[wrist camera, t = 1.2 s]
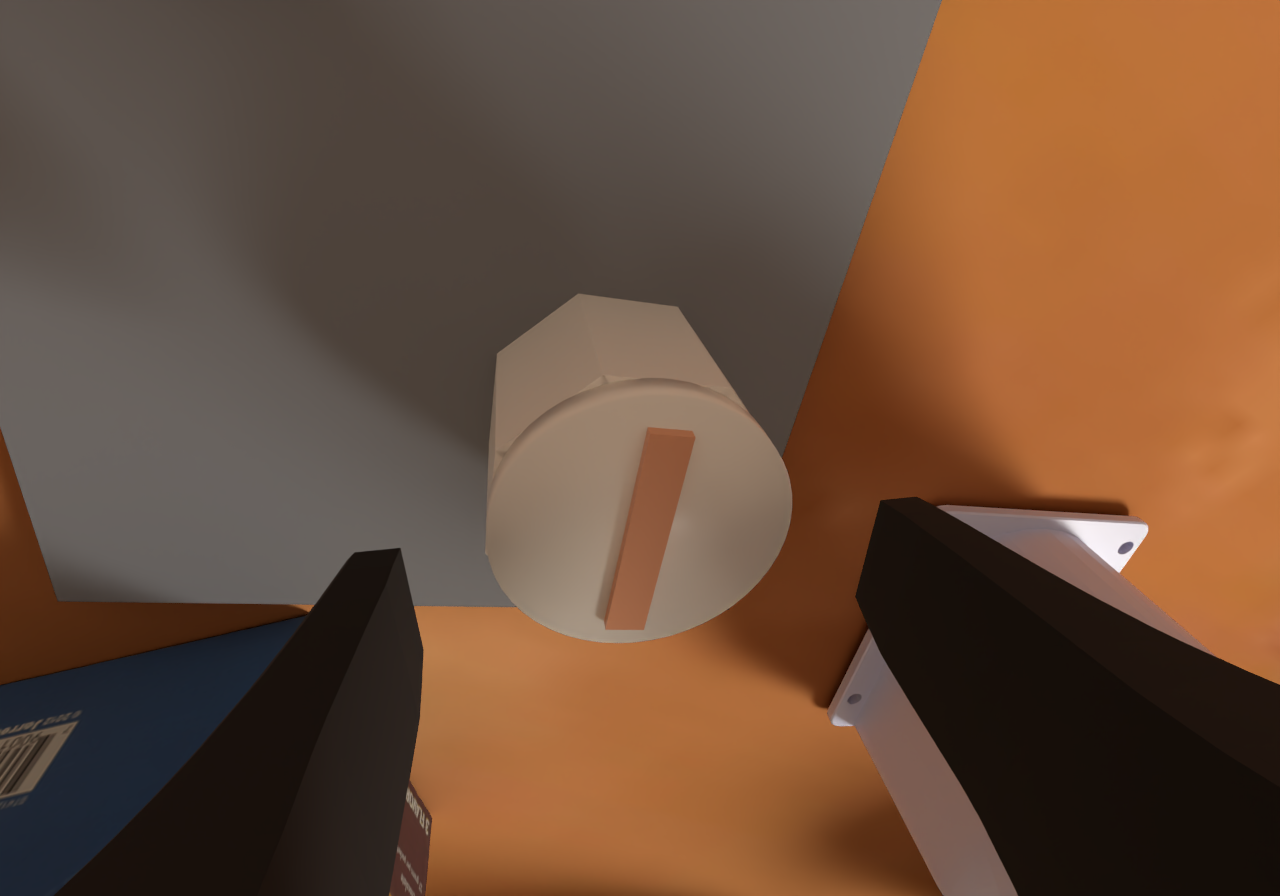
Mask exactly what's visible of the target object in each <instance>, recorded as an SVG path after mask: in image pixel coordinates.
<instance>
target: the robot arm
mask: <svg viewBox="0 0 1280 896" xmlns="http://www.w3.org/2000/svg"><path fill="white" fill-rule="evenodd" d="M1147 533H1148V525H1147V524H1146V523H1145V522H1144V521H1142V520H1141V519H1140V518H1138V517H1135V516H1122V515H1105V514H1089V513H1072V512H1056V511H1039V510H1023V509H1006V508H989V507H973V506H956V505H940V506H937V507H936V506H934V505H932V504H930V503H928V502H926V501H924V500H922V499H920V498H918V497H910V498H899V499H889V500H881V501H880V505H879V508H878V512H877V516H876V520H875V524H874V527H873V531H872V535H871V539H870V543H869V546H868V550H867V554H866V558H865V562H864V565H863V569H862V573H861V577H860V581H859V584H858V588H857V592H856V596H855V597H856V599H857V602H858V604H859V606H860V609H861V611H862V613H863V616H864V618H865V621H866V623H867V625H868V628H869V629H868V631H867V633H866V635H865V637H864V639H863V641H862V643H861V645H860V647H859V649H858V651H857V652H856V654H855V656H854V658H853V660H852V662H851V664H850V666H849V668H848V670H847V672H846V674H845V676H844V678H843V680H842V682H841V684H840V686H839V688H838V690H837V692H836V694H835V696H834V698H833V700H832V702H831V704H830V706H829V708H828V711H827V715H828V717H829V719H830V721H831V723H832V724H833V725H835V726H855V727H856V729H857V731H858V733H859V735H860V737H861V739H862V741H863V743H864V745H865V747H866V749H867V751H868V753H869V755H870V756H871V758H872V760H873V762H874V764H875V766H876V768H877V770H878V772H879V774H880V776H881V778H882V780H883V782H884V784H885V786H886V788H887V789H888V791H889V793H890V795H891V797H892V799H893V801H894V803H895V805H896V807H897V809H898V811H899V813H900V815H901V817H902V819H903V821H904V822H905V824H906V826H907V828H908V830H909V832H910V834H911V836H912V838H913V840H914V842H915V844H916V846H917V848H918V850H919V852H920V854H921V855H922V857H923V859H924V861H925V863H926V865H927V867H928V869H929V871H930V873H931V875H932V877H933V879H934V881H935V883H936V885H937V886H938V888H939V890H940V891H941V893H942V895H943V896H1280V685H1279V684H1276V683H1274V682H1272V681H1269V680H1267V679H1264V678H1262V677H1260V676H1257V675H1255V674H1253V673H1250V672H1248V671H1246V670H1243V669H1241V668H1239V667H1237V666H1235V665H1233V664H1230V663H1228V662H1226V661H1224V660H1222V659H1219V658H1217V657H1216V656H1215V655H1214V654H1212V653H1211V652H1210V651H1209V650H1208V649H1207V648H1205V647H1204V646H1203V645H1202V644H1201V643H1200V642H1199V641H1197V640H1196V639H1195V638H1194V637H1193V636H1192V635H1190V634H1189V633H1188V632H1187V631H1186V630H1185V629H1183V628H1182V627H1181V626H1180V625H1179V624H1178V623H1176V622H1175V621H1174V620H1173V619H1172V618H1171V617H1170V616H1168V615H1167V614H1166V613H1165V612H1164V611H1163V610H1161V609H1160V608H1159V607H1158V606H1157V605H1156V604H1154V603H1153V602H1152V601H1151V600H1150V599H1149V598H1147V597H1146V596H1145V595H1144V594H1143V593H1142V592H1140V591H1139V590H1138V589H1137V588H1136V587H1135V586H1134V585H1132V584H1131V583H1130V582H1129V581H1128V580H1127V579H1125V578H1124V577H1123V576H1122V575H1121V574H1120V573H1119V572H1120V571H1121V570H1122V568H1123V567H1124V566H1125V564H1126V563H1127V561H1128V560H1129V559H1130V557H1131V556H1132V554H1133V553H1134V552H1135V550H1136V549H1137V547H1138V546H1139V545H1140V543H1141V542H1142V541H1143V539H1144V538H1145V536H1146V534H1147ZM422 669H423V646H422V641H421V637H420V632H419V628H418V623H417V619H416V615H415V610H414V606H413V601H412V597H411V592H410V588H409V583H408V579H407V574H406V570H405V565H404V561H403V557H402V552H401V548H393V549H383V550H373V551H363V552H354V553H353V554H352V555H351V556H350V558H349V559H348V560H347V561H346V562H345V564H344V565H343V566H342V568H341V569H340V571H339V572H338V573H337V575H336V576H335V578H334V579H333V580H332V582H331V583H330V585H329V586H328V587H327V589H326V590H325V592H324V593H323V594H322V596H321V597H320V598H319V600H318V601H317V603H316V604H315V605H314V607H313V608H312V609H311V611H310V612H309V613H308V615H307V616H306V617H305V619H304V620H303V621H302V623H301V624H300V625H299V627H298V628H297V629H296V631H295V632H294V633H293V635H292V636H291V637H290V638H289V640H288V641H287V642H286V644H285V645H284V646H283V647H282V649H281V650H280V651H279V652H278V654H277V655H276V656H275V658H274V659H273V660H272V661H271V663H270V664H269V665H268V666H267V668H266V669H265V670H264V672H263V673H262V674H261V675H260V677H259V678H258V679H257V680H256V682H255V683H254V684H253V685H252V686H251V688H250V689H249V690H248V691H247V693H246V694H245V695H244V696H243V697H242V698H241V700H240V701H239V702H238V703H237V704H236V705H235V707H234V708H233V709H232V710H231V711H230V712H229V713H228V715H227V716H226V717H225V718H224V719H223V720H222V722H221V723H220V724H219V725H218V726H217V727H216V729H215V730H214V731H213V732H212V733H211V734H210V736H209V737H208V738H207V739H206V740H205V741H204V742H203V744H202V745H201V746H200V747H199V748H198V749H197V751H196V752H195V753H194V754H193V755H192V756H191V757H190V758H189V759H188V760H187V762H186V763H185V764H184V765H183V766H182V767H181V768H180V769H179V770H178V771H177V772H176V774H175V775H174V776H173V777H172V778H171V779H170V780H169V781H168V782H167V783H166V784H165V785H164V786H163V787H162V788H161V790H160V791H159V792H158V793H157V794H156V795H155V796H154V797H153V798H152V799H151V800H150V801H149V802H148V803H147V804H146V805H145V806H144V807H143V808H142V809H141V810H140V811H139V812H138V813H137V814H136V815H135V816H134V817H133V818H132V819H131V820H130V821H129V823H128V824H127V825H126V826H125V827H124V828H123V829H122V830H121V831H120V832H119V833H118V834H117V835H116V836H115V837H114V838H113V839H112V840H111V841H110V842H109V843H108V844H107V845H106V846H105V847H104V848H103V849H102V850H101V851H100V852H98V853H97V854H96V855H95V856H94V857H93V858H92V859H91V860H90V861H89V862H88V863H87V864H86V865H85V866H84V867H83V868H82V869H81V870H80V871H79V872H77V873H76V874H75V875H74V876H73V877H72V878H71V879H70V880H69V881H68V882H67V883H66V884H65V885H64V886H63V887H62V888H61V889H60V890H59V891H58V892H57V893H55V894H54V895H53V896H389V893H390V886H391V881H392V875H393V869H394V864H395V858H396V852H397V847H398V841H399V835H400V830H401V824H402V818H403V812H404V807H405V801H406V795H407V790H408V784H409V778H410V773H411V767H412V761H413V755H414V749H415V743H416V738H417V731H418V725H419V719H420V704H421V689H422Z"/></svg>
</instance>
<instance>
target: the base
mask: <svg viewBox="0 0 1280 896" xmlns="http://www.w3.org/2000/svg"><path fill="white" fill-rule="evenodd" d="M941 1H942V0H0V428H1V431H2V434H3V437H4V440H5V443H6V446H7V449H8V452H9V455H10V458H11V461H12V464H13V467H14V470H15V473H16V476H17V479H18V482H19V485H20V488H21V491H22V494H23V497H24V500H25V504H26V507H27V510H28V513H29V516H30V519H31V522H32V525H33V528H34V531H35V534H36V537H37V540H38V543H39V546H40V549H41V552H42V555H43V558H44V561H45V564H46V567H47V570H48V573H49V576H50V579H51V582H52V585H53V588H54V591H55V594H56V597H57V600H58V601H68V602H147V603H227V604H307V605H315V604H316V603H317V601H318V600H319V598H320V597H321V596H322V594H323V593H324V592H325V590H326V589H327V587H328V586H329V585H330V583H331V582H332V580H333V579H334V578H335V576H336V575H337V573H338V572H339V571H340V569H341V568H342V566H343V565H344V564H345V562H346V561H347V560H348V559H349V558H350V556H351V555H352V554H353V553H354V552H363V551H373V550H383V549H393V548H401V552H402V557H403V561H404V565H405V570H406V574H407V579H408V583H409V588H410V592H411V597H412V601H413V606H466V607H517V606H516V605H514V604H513V603H512V602H511V600H510V599H509V598H508V597H507V595H506V594H505V593H504V592H503V590H502V589H501V587H500V585H499V583H498V582H497V580H496V578H495V576H494V574H493V571H492V568H491V565H490V562H489V559H488V556H487V555H486V554H485V546H486V516H487V486H488V456H489V437H490V426H491V415H492V404H493V393H494V382H495V371H496V359H497V353H498V352H500V351H501V350H502V349H504V348H505V347H507V346H508V345H509V344H511V343H512V342H513V341H515V340H516V339H517V338H519V337H520V336H521V335H523V334H524V333H526V332H527V331H528V330H530V329H531V328H532V327H534V326H535V325H536V324H538V323H539V322H540V321H542V320H543V319H544V318H546V317H547V316H549V315H550V314H551V313H553V312H554V311H555V310H557V309H558V308H559V307H561V306H562V305H563V304H565V303H566V302H568V301H569V300H570V299H572V298H573V297H574V296H576V295H577V294H578V293H579V294H586V295H593V296H601V297H608V298H616V299H623V300H631V301H638V302H646V303H653V304H661V305H668V306H676V307H678V308H679V309H680V311H681V312H682V314H683V315H684V317H685V318H686V320H687V321H688V323H689V324H690V326H691V327H692V329H693V330H694V332H695V333H696V335H697V336H698V338H699V339H700V340H701V342H702V343H703V345H704V346H705V348H706V349H707V351H708V352H709V354H710V355H711V357H712V358H713V360H714V361H715V363H716V364H717V366H718V367H719V369H720V370H721V371H722V373H723V374H724V376H725V377H726V379H727V380H728V382H729V383H730V385H731V386H732V388H733V389H734V391H735V392H736V394H737V395H738V397H739V398H740V400H741V401H742V403H743V404H744V406H745V407H746V409H747V410H748V412H749V413H750V415H751V416H753V417H754V419H755V420H756V421H757V422H758V424H759V425H760V426H761V427H762V429H763V430H764V431H765V433H766V434H767V436H768V437H769V439H770V440H771V442H772V443H773V445H774V446H775V448H776V449H777V451H778V453H779V455H780V456H781V458H782V456H783V453H784V450H785V448H786V445H787V442H788V439H789V436H790V433H791V430H792V428H793V425H794V422H795V419H796V416H797V413H798V410H799V407H800V405H801V402H802V399H803V396H804V393H805V390H806V387H807V385H808V382H809V379H810V376H811V373H812V370H813V367H814V365H815V362H816V359H817V356H818V353H819V350H820V347H821V345H822V342H823V339H824V336H825V333H826V330H827V327H828V325H829V322H830V319H831V316H832V313H833V310H834V307H835V304H836V302H837V299H838V296H839V293H840V290H841V287H842V284H843V282H844V279H845V276H846V273H847V270H848V267H849V264H850V262H851V259H852V256H853V253H854V250H855V247H856V244H857V242H858V239H859V236H860V233H861V230H862V227H863V224H864V222H865V219H866V216H867V213H868V210H869V207H870V204H871V201H872V199H873V196H874V193H875V190H876V187H877V184H878V181H879V179H880V176H881V173H882V170H883V167H884V164H885V161H886V159H887V156H888V153H889V150H890V147H891V144H892V141H893V139H894V136H895V133H896V130H897V127H898V124H899V121H900V119H901V116H902V113H903V110H904V107H905V104H906V101H907V98H908V96H909V93H910V90H911V87H912V84H913V81H914V78H915V76H916V73H917V70H918V67H919V64H920V61H921V58H922V56H923V53H924V50H925V47H926V44H927V41H928V38H929V36H930V33H931V30H932V27H933V24H934V21H935V18H936V16H937V13H938V10H939V7H940V4H941ZM727 610H729V609H727Z"/></svg>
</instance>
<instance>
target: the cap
mask: <svg viewBox="0 0 1280 896" xmlns="http://www.w3.org/2000/svg"><path fill="white" fill-rule="evenodd" d="M791 514H792V490H791V484H790V478H789V475H788V470H787V469H786V467H785V464H784V462H783V460H782V458H781V456H780V455H779V453H778V451H777V449H776V448H775V446H774V445H773V443H772V442H771V440H770V439H769V437H768V436H767V434H766V433H765V431H764V430H763V429H762V427H761V426H760V425H759V424H758V422H757V421H756V420H755V419H754V417H753V416H751V415H750V413H749V412H748V410H747V409H746V407H745V406H744V404H743V403H742V401H741V400H740V398H739V397H738V395H737V394H736V392H735V391H734V389H733V388H732V386H731V385H730V383H729V382H728V380H727V379H726V377H725V376H724V374H723V373H722V371H721V370H720V369H719V367H718V366H717V364H716V363H715V361H714V360H713V358H712V357H711V355H710V354H709V352H708V351H707V349H706V348H705V346H704V345H703V343H702V342H701V340H700V339H699V338H698V336H697V335H696V333H695V332H694V330H693V329H692V327H691V326H690V324H689V323H688V321H687V320H686V318H685V317H684V315H683V314H682V312H681V311H680V309H679V308H678V307H676V306H668V305H661V304H653V303H646V302H638V301H631V300H623V299H616V298H608V297H601V296H593V295H586V294H579V293H578V294H577V295H576V296H574V297H573V298H572V299H570V300H569V301H568V302H566V303H565V304H563V305H562V306H561V307H559V308H558V309H557V310H555V311H554V312H553V313H551V314H550V315H549V316H547V317H546V318H544V319H543V320H542V321H540V322H539V323H538V324H536V325H535V326H534V327H532V328H531V329H530V330H528V331H527V332H526V333H524V334H523V335H521V336H520V337H519V338H517V339H516V340H515V341H513V342H512V343H511V344H509V345H508V346H507V347H505V348H504V349H502V350H501V351H500V352H498V353H497V359H496V371H495V382H494V393H493V404H492V415H491V426H490V437H489V456H488V486H487V516H486V546H485V554H486V555H487V556H488V559H489V562H490V565H491V568H492V571H493V574H494V576H495V578H496V580H497V582H498V583H499V585H500V587H501V589H502V590H503V592H504V593H505V594H506V595H507V597H508V598H509V599H510V600H511V602H512V603H513V604H514V605H516V606H517V607H518V608H519V609H520V610H521V611H522V612H523V613H524V614H526V615H527V616H529V617H530V618H531V619H533V620H534V621H536V622H537V623H539V624H541V625H543V626H545V627H547V628H549V629H551V630H553V631H556V632H559V633H561V634H564V635H566V636H570V637H574V638H578V639H582V640H588V641H595V642H604V643H631V642H641V641H648V640H655V639H659V638H663V637H667V636H671V635H674V634H677V633H680V632H684V631H687V630H689V629H691V628H694V627H696V626H698V625H701V624H703V623H705V622H707V621H709V620H711V619H712V618H714V617H716V616H718V615H720V614H721V613H723V612H724V611H726V610H727V609H729V608H730V607H732V606H733V605H735V604H736V603H737V602H738V601H739V600H741V599H742V598H743V597H744V596H745V595H747V594H748V593H749V592H750V591H751V590H752V589H753V588H754V587H755V586H756V585H757V584H758V583H759V582H760V580H761V579H762V578H763V577H764V575H765V574H766V573H767V572H768V570H769V569H770V568H771V566H772V564H773V563H774V561H775V560H776V558H777V556H778V555H779V553H780V550H781V548H782V546H783V544H784V542H785V539H786V536H787V533H788V529H789V526H790V521H791Z"/></svg>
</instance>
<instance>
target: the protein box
mask: <svg viewBox="0 0 1280 896" xmlns="http://www.w3.org/2000/svg"><path fill="white" fill-rule="evenodd" d="M305 617H306V616H302V617H298V618H294V619H289V620H285V621H281V622H276V623H272V624H268V625H263V626H259V627H255V628H250V629H246V630H241V631H237V632H232V633H228V634H224V635H220V636H216V637H211V638H207V639H203V640H198V641H194V642H190V643H185V644H181V645H177V646H172V647H168V648H164V649H159V650H155V651H151V652H146V653H142V654H137V655H133V656H129V657H124V658H119V659H115V660H111V661H106V662H101V663H97V664H93V665H89V666H85V667H81V668H76V669H71V670H67V671H62V672H58V673H53V674H50V675H45V676H41V677H36V678H31V679H27V680H22V681H18V682H14V683H10V684H5V685H0V896H53V895H54V894H55V893H57V892H58V891H59V890H60V889H61V888H62V887H63V886H64V885H65V884H66V883H67V882H68V881H69V880H70V879H71V878H72V877H73V876H74V875H75V874H76V873H77V872H79V871H80V870H81V869H82V868H83V867H84V866H85V865H86V864H87V863H88V862H89V861H90V860H91V859H92V858H93V857H94V856H95V855H96V854H97V853H98V852H100V851H101V850H102V849H103V848H104V847H105V846H106V845H107V844H108V843H109V842H110V841H111V840H112V839H113V838H114V837H115V836H116V835H117V834H118V833H119V832H120V831H121V830H122V829H123V828H124V827H125V826H126V825H127V824H128V823H129V821H130V820H131V819H132V818H133V817H134V816H135V815H136V814H137V813H138V812H139V811H140V810H141V809H142V808H143V807H144V806H145V805H146V804H147V803H148V802H149V801H150V800H151V799H152V798H153V797H154V796H155V795H156V794H157V793H158V792H159V791H160V790H161V788H162V787H163V786H164V785H165V784H166V783H167V782H168V781H169V780H170V779H171V778H172V777H173V776H174V775H175V774H176V772H177V771H178V770H179V769H180V768H181V767H182V766H183V765H184V764H185V763H186V762H187V760H188V759H189V758H190V757H191V756H192V755H193V754H194V753H195V752H196V751H197V749H198V748H199V747H200V746H201V745H202V744H203V742H204V741H205V740H206V739H207V738H208V737H209V736H210V734H211V733H212V732H213V731H214V730H215V729H216V727H217V726H218V725H219V724H220V723H221V722H222V720H223V719H224V718H225V717H226V716H227V715H228V713H229V712H230V711H231V710H232V709H233V708H234V707H235V705H236V704H237V703H238V702H239V701H240V700H241V698H242V697H243V696H244V695H245V694H246V693H247V691H248V690H249V689H250V688H251V686H252V685H253V684H254V683H255V682H256V680H257V679H258V678H259V677H260V675H261V674H262V673H263V672H264V670H265V669H266V668H267V666H268V665H269V664H270V663H271V661H272V660H273V659H274V658H275V656H276V655H277V654H278V652H279V651H280V650H281V649H282V647H283V646H284V645H285V644H286V642H287V641H288V640H289V638H290V637H291V636H292V635H293V633H294V632H295V631H296V629H297V628H298V627H299V625H300V624H301V623H302V621H303V620H304V619H305ZM431 824H432V817H431V815H430V813H429V812H428V810H427V809H426V807H425V806H424V804H423V802H422V800H421V799H420V798H419V796H418V795H417V793H416V791H415V789H414V787H413V786H412V784H411V782H410V780H409V784H408V790H407V795H406V801H405V807H404V812H403V818H402V824H401V830H400V835H399V841H398V847H397V852H396V858H395V864H394V869H393V875H392V881H391V886H390V893H389V896H425V891H426V880H427V869H428V858H429V845H430V834H431Z"/></svg>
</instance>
